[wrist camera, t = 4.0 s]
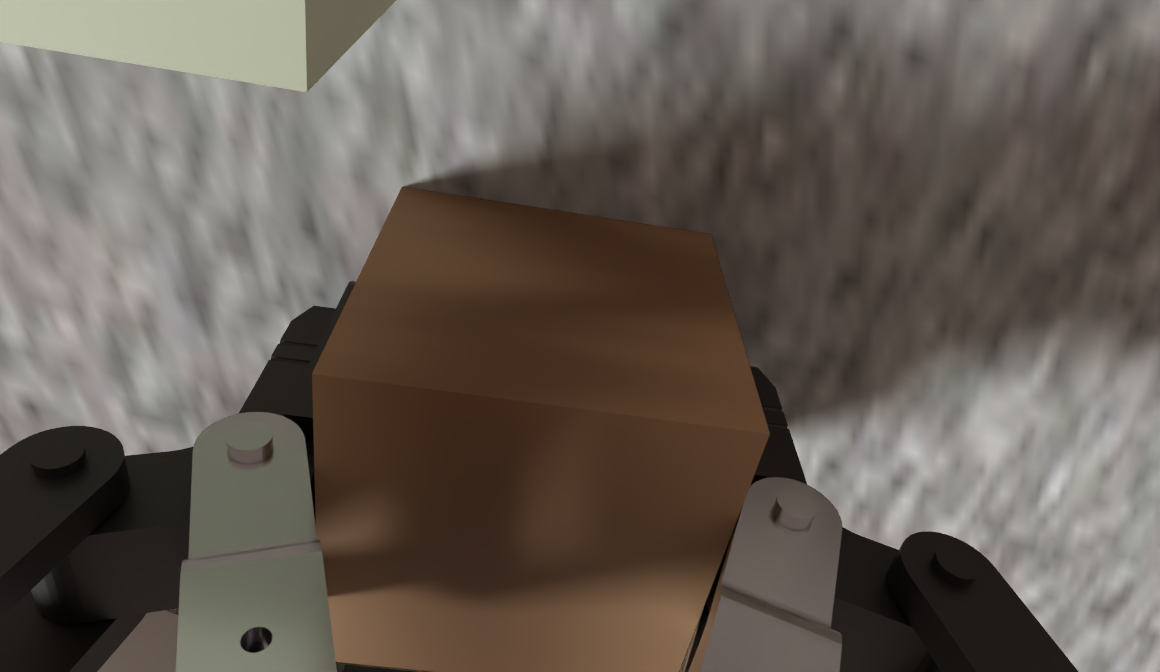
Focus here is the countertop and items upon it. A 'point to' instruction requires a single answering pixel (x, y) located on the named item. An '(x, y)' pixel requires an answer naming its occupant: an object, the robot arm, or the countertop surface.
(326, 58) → the sage block
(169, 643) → the puzzle toy
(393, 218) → the walnut block
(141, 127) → the countertop surface
